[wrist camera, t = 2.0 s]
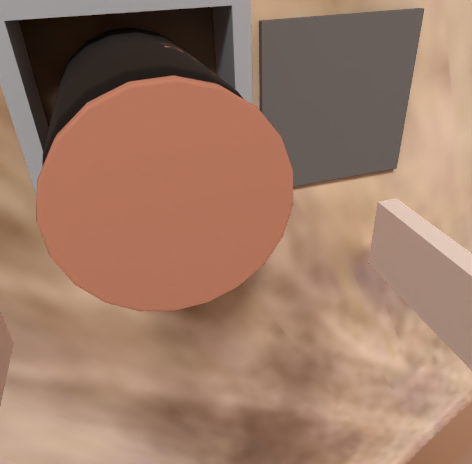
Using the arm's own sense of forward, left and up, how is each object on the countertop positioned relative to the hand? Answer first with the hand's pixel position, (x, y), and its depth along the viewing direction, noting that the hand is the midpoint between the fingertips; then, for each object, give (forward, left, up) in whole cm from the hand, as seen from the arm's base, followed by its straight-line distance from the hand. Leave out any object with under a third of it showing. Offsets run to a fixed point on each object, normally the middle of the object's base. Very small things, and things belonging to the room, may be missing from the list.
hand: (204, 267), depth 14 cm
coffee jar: (0, 0, -22) cm, 22 cm away
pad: (+17, -2, -22) cm, 28 cm away
